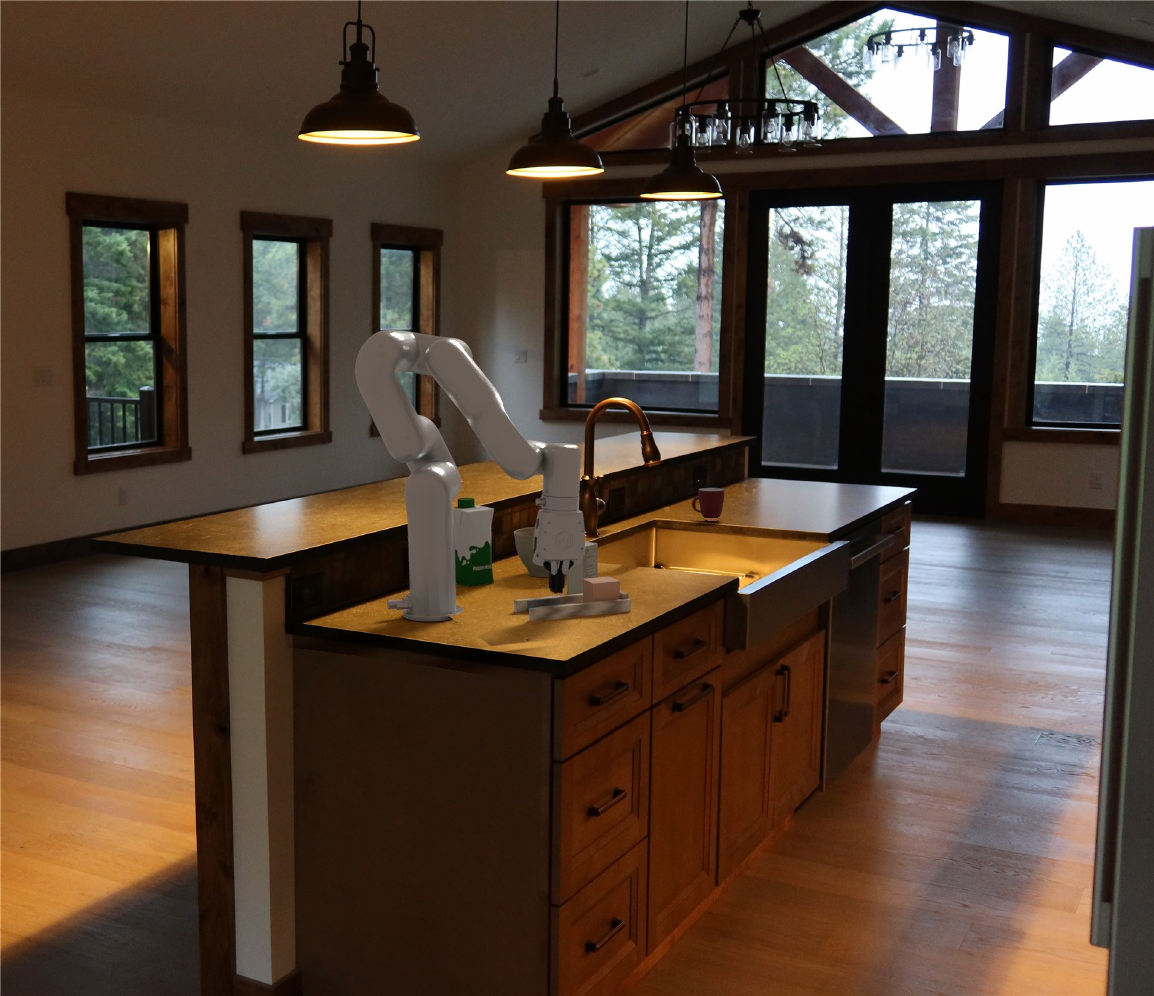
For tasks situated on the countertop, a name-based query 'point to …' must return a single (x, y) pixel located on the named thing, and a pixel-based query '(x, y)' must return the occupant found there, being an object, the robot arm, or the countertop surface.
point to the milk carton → (472, 543)
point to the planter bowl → (529, 552)
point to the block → (600, 589)
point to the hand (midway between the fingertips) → (556, 592)
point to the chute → (569, 606)
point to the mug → (710, 502)
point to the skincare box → (583, 569)
